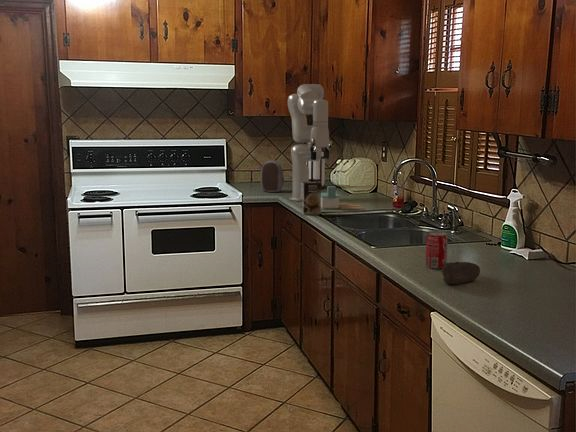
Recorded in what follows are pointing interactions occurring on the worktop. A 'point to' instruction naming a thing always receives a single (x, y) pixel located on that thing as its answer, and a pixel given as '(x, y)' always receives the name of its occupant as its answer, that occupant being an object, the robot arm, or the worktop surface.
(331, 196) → the lid
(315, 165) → the coffee press
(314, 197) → the coffee box
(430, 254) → the soda can
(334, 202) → the tub
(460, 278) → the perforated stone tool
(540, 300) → the worktop surface
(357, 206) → the mat
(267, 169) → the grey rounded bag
